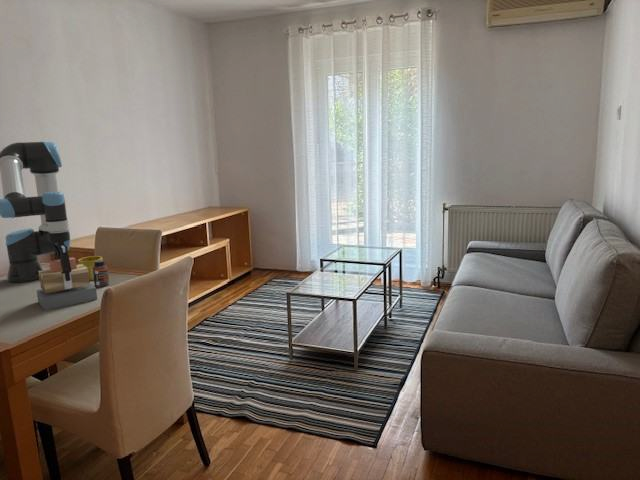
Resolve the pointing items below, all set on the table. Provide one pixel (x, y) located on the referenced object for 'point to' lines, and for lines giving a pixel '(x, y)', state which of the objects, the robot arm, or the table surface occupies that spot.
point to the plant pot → (89, 264)
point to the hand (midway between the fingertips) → (65, 285)
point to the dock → (66, 297)
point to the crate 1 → (55, 266)
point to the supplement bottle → (100, 274)
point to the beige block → (56, 282)
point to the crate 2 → (73, 263)
